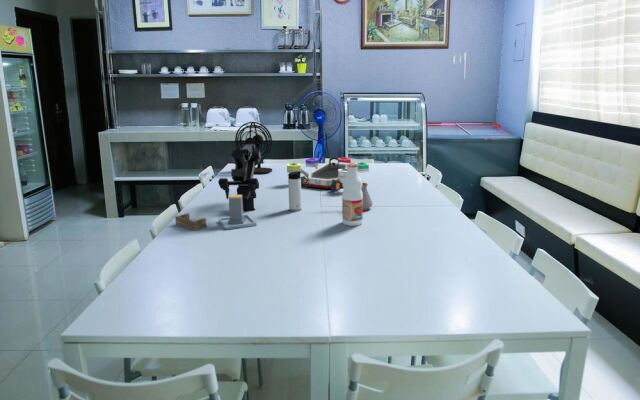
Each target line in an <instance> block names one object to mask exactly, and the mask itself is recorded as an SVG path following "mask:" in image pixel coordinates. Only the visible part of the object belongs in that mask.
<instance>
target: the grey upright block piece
mask: <svg viewBox="0 0 640 400" xmlns="http://www.w3.org/2000/svg"><path fill="white" fill-rule="evenodd" d="M228 208H229V217H230V219H229V221H228V224H244V222H245V221H246V217H244V215H245V214H244V211H243V197H242V195H237V194H229V197H228Z"/></svg>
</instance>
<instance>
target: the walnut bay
mask: <svg viewBox="0 0 640 400" xmlns="http://www.w3.org/2000/svg"><path fill="white" fill-rule="evenodd" d="M174 219H175V225H176V226H178V225H179V227H181V226H182V228H185V229H188V230H191V231H197V230H200V228H201V229H204V228H207V219H206V218H205V217H204V218H200V219H197V220H191V219H190V213H184V214H180V215H175V218H174Z"/></svg>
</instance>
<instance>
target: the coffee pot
mask: <svg viewBox="0 0 640 400" xmlns="http://www.w3.org/2000/svg"><path fill="white" fill-rule="evenodd" d="M332 181H335V182H337V183H338V184H340V185H343V183H342V182H339V181H337V180H334V179H332ZM332 181H331V183H332ZM368 185H369V183H366V182H362V188H361V190H362V193H363V211H368V210H369V209H371V207H372V206H373V204H374V203H373V200H372V199H371V195H370V194H369V191H368V188H367V186H368Z"/></svg>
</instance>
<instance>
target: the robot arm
mask: <svg viewBox="0 0 640 400" xmlns="http://www.w3.org/2000/svg"><path fill="white" fill-rule="evenodd" d="M260 150H261V149H260ZM260 150H259V149H258V148H256V145H255V144H244V146H243V148H241V147H240V148H236V147H235V149H234V150H233V151H232V152H231V159H232V160H233V161H232V162H233V163H234V165H235V167H234V168H231V171H230V176H231V180H229V179H228V177H227V178H226V177H225V178H224V177H221V178H218V185H219V188H220V189H222V191H224V192H225V196H226V200H229V196H230V186H237V187H236V195H242V197H243V212H249V211H256V208H255V202H254V201H255V200H254V199H256V198H257V192H256V191H257V190H258V189H260V182H259V180H258V178H257V177H254V169H255V167H257V164H259V160H260V159H261V158H262V156H261V155H262V153H261V151H260ZM260 161H261V160H260Z"/></svg>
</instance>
